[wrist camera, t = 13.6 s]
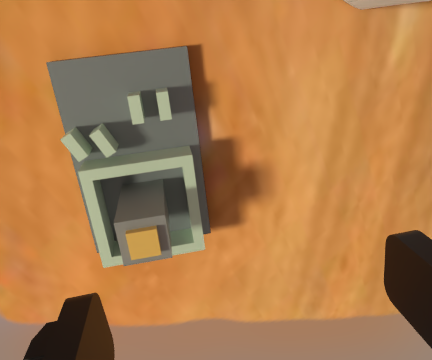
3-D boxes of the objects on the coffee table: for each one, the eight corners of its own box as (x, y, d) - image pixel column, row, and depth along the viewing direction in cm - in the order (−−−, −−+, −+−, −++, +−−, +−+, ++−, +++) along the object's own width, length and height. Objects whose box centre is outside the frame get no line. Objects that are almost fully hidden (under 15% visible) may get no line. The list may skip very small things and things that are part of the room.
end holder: (189, 145, 35) (192, 154, 33) (201, 234, 39) (205, 249, 36) (84, 161, 34) (77, 171, 31) (107, 251, 38) (103, 267, 35)
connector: (162, 178, 36) (165, 218, 28) (168, 214, 38) (172, 261, 30) (121, 185, 36) (112, 227, 28) (129, 221, 37) (123, 270, 29)
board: (185, 45, 33) (189, 46, 30) (209, 227, 40) (214, 245, 37) (49, 61, 32) (37, 64, 28) (98, 246, 39) (93, 266, 36)
